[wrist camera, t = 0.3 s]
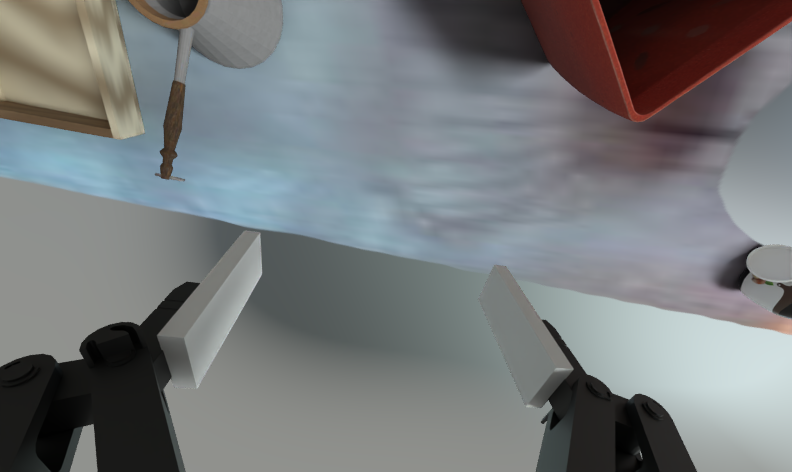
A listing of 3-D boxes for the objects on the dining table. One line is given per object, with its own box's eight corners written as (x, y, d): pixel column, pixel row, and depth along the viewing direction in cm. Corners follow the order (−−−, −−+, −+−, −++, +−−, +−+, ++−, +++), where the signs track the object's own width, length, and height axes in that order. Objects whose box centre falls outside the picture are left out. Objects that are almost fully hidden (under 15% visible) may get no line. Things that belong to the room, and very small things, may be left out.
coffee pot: (174, -86, 27) (-12, -231, 14) (295, -38, 29) (231, -126, 16) (189, 135, 37) (89, 169, 24) (278, 158, 39) (230, 200, 26)
